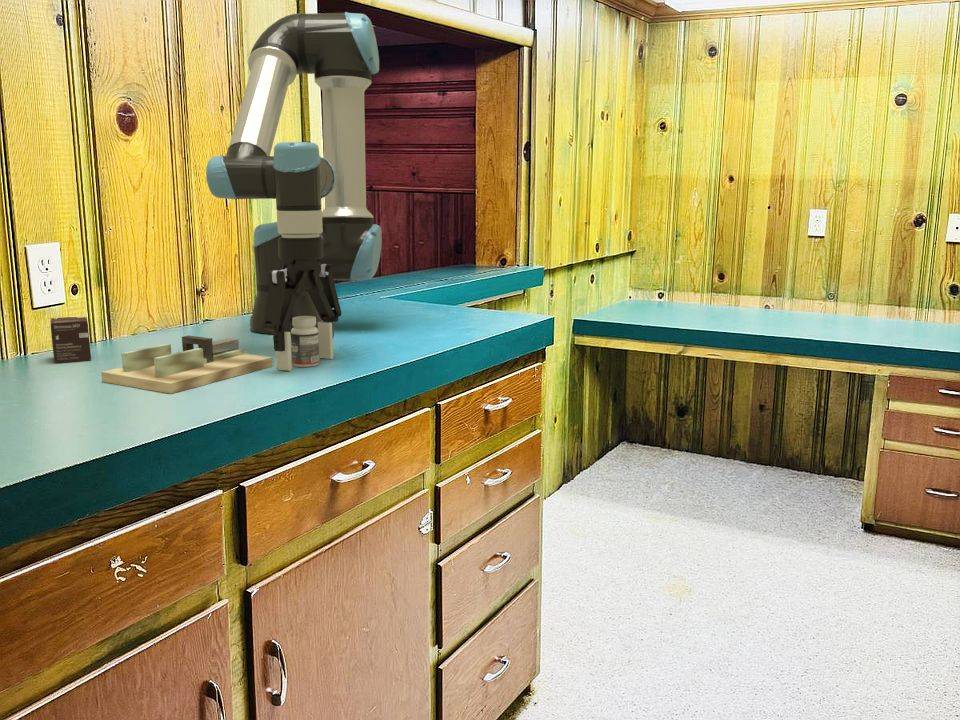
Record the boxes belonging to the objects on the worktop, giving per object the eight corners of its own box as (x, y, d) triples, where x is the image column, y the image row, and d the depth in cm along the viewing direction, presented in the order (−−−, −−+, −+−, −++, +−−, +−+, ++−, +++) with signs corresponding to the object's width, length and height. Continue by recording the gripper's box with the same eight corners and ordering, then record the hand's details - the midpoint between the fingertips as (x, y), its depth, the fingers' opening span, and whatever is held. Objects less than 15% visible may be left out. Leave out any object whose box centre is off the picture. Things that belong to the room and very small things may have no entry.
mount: (206, 357, 156) (204, 326, 155) (272, 366, 148) (271, 334, 147) (102, 381, 137) (98, 347, 136) (171, 393, 130) (168, 357, 128)
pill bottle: (290, 362, 151) (287, 316, 149) (317, 360, 153) (315, 314, 151) (294, 368, 147) (292, 320, 145) (321, 366, 148) (319, 318, 147)
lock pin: (229, 351, 153) (228, 338, 152) (239, 352, 152) (238, 339, 151) (199, 358, 147) (198, 344, 146) (209, 359, 146) (208, 346, 145)
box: (53, 364, 151) (49, 323, 149) (54, 357, 156) (49, 318, 155) (91, 360, 153) (87, 320, 152) (90, 354, 159) (86, 315, 157)
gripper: (326, 231, 157) (330, 350, 161) (234, 239, 137) (242, 373, 142) (359, 232, 153) (362, 354, 158) (269, 240, 134) (276, 378, 138)
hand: (305, 363), depth 150 cm, fingers open, 10 cm apart
